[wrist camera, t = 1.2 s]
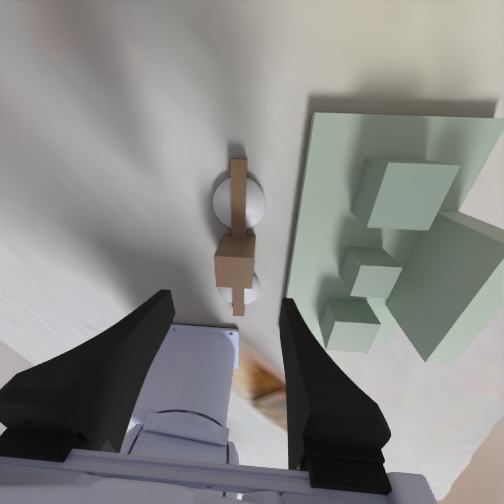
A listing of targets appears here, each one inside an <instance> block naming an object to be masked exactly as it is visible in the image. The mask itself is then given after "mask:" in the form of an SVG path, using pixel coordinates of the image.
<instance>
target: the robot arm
mask: <svg viewBox="0 0 504 504" xmlns="http://www.w3.org/2000/svg"><path fill="white" fill-rule="evenodd" d="M174 315H175V309H174V305H173V300H172V296H171V291H170V290H160V291H158V292H157V293H156V294H155V295H153V296H152V297H151V298H150V299H148V300H147V301H146V302H145V303H143V304H142V305H141V306H139V307H138V308H137V309H135V310H134V311H133V312H132V313H130V314H129V315H127V316H126V317H125V318H123V319H122V320H120V321H119V322H118V323H116V324H115V325H113V326H112V327H110V328H108V329H107V330H105V331H104V332H102V333H100V334H99V335H97V336H95V337H94V338H92V339H90V340H88V341H86V342H84V343H83V344H81V345H79V346H77V347H75V348H73V349H71V350H69V351H67V352H65V353H63V354H61V355H59V356H57V357H55V358H53V359H50V360H48V361H46V362H44V363H41V364H39V365H37V366H34V367H32V368H30V369H27V370H25V371H22V372H20V373H17V374H16V375H15V376H14V377H13V378H12V379H11V380H10V381H9V382H8V383H7V384H5V385H4V386H3V387H2V388H1V389H0V422H1V423H2V424H3V425H4V426H6V427H7V429H6V430H5V431H4V432H3V433H2V435H1V436H0V504H437V502H436V500H435V497H434V495H433V493H432V491H431V489H430V487H429V484H428V482H427V480H426V478H425V477H424V476H423V475H420V474H410V473H399V472H391V473H387V474H386V471H385V469H384V466H383V463H385V459H384V456H383V454H382V451H381V449H382V448H383V447H384V445H385V444H386V443H387V442H388V441H389V439H390V437H391V431H390V429H389V427H388V424H387V422H386V420H385V418H384V416H383V414H382V412H381V410H380V408H379V406H378V404H377V403H376V402H374V401H373V400H372V399H371V398H370V397H369V396H368V395H367V394H365V393H364V392H363V391H362V390H361V389H360V388H359V387H358V386H357V385H356V384H355V383H354V382H353V381H352V380H351V379H350V378H349V377H348V376H347V375H346V374H345V373H344V372H343V371H342V370H341V369H340V368H339V367H338V366H337V364H336V363H335V362H334V361H333V360H332V359H331V358H330V356H329V355H328V354H327V353H326V351H325V350H324V349H323V348H322V346H321V345H320V344H319V342H318V341H317V339H316V338H315V336H314V335H313V334H312V332H311V330H310V329H309V327H308V326H307V324H306V322H305V321H304V319H303V317H302V315H301V313H300V312H299V310H298V308H297V306H296V303H295V301H294V299H293V298H283V299H282V306H281V313H280V320H279V321H280V340H281V348H282V355H283V363H284V370H285V379H286V400H287V427H288V468H289V470H286V469H276V468H266V467H255V466H245V465H239V458H238V453H237V451H236V449H235V446H234V443H233V442H230V441H228V435H229V429H228V428H225V426H226V419H227V412H228V404H229V397H230V390H231V383H232V376H233V369H234V370H237V369H239V330H237V329H230V328H216V327H203V326H189V325H175V324H172V321H173V318H174ZM131 418H132V421H133V422H134V423H135V424H136V425H135V426H134V427H133V428H132V429H130V430H129V431H128V432H127V433H126V431H127V428H128V425H129V422H130V419H131ZM238 493H242V494H244V495H243V496H242V500H238V499H237V494H238Z"/></svg>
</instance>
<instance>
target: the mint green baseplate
mask: <svg viewBox="0 0 504 504" xmlns="http://www.w3.org/2000/svg"><path fill="white" fill-rule="evenodd" d="M503 130H504V118H474V117H443V116H412V115H380V114H349V113H318V112H315V113H313V114H312V118H311V125H310V132H309V139H308V146H307V152H306V159H305V166H304V173H303V179H302V186H301V193H300V200H299V207H298V213H297V220H296V227H295V234H294V240H293V247H292V254H291V261H290V268H289V274H288V281H287V288H286V295H285V298H293V299H294V301H295V303H296V306H297V308H298V310H299V312H300V313H301V315H302V317H303V319H304V321H305V322H306V324H307V326H308V327H309V329H310V330H311V332H312V334H313V335H314V336H315V338H316V339H317V340H322V341H324V345H325V348H326V350H336V351H349V352H362V353H367V352H368V350H369V348H370V346H371V344H377V345H385V344H386V342H387V340H388V338H389V336H390V335H391V333H392V331H393V329H394V327H395V326H396V324H397V323H398V324H399V326H400V327H401V329H402V330H403V331H404V333H405V334H406V336H407V337H408V339H409V340H410V342H411V343H412V344H413V346H414V347H415V349H416V350H417V352H418V353H419V354H420V356H421V357H422V359H423V360H424V362H425V363H438V364H451V365H452V364H453V363H454V362H455V361H456V360H457V359H458V357H459V356H460V355H461V354H462V353H463V352H464V351H465V349H466V348H467V347H468V346H469V345H470V344H471V343H472V341H473V340H474V339H475V338H476V337H477V336H478V335H479V333H480V332H481V331H482V330H483V329H484V328H485V326H486V325H487V324H488V323H489V322H490V321H491V320H492V318H493V317H494V316H495V315H496V314H497V313H498V312H499V310H500V309H501V308H502V307H503V306H504V230H503V229H501V228H498V227H496V226H493V225H491V224H488V223H486V222H483V221H481V220H478V219H476V218H473V217H471V216H468V215H466V214H463V213H461V212H458V211H459V209H460V208H461V206H462V204H463V202H464V200H465V199H466V197H467V195H468V193H469V191H470V189H471V188H472V186H473V184H474V182H475V180H476V179H477V177H478V175H479V173H480V171H481V170H482V168H483V166H484V164H485V162H486V160H487V159H488V157H489V155H490V153H491V151H492V150H493V148H494V146H495V144H496V142H497V140H498V139H499V137H500V135H501V133H502V131H503Z"/></svg>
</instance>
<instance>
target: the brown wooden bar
mask: <svg viewBox="0 0 504 504" xmlns="http://www.w3.org/2000/svg"><path fill="white" fill-rule="evenodd" d="M213 209H214V212H215V214H216V216H217V217H218V219H219V220H220V221H221V222H222V223H223V224H224V225H226V226H228V227H230V228H231V231H232V235H229V234H223V237H222V239H221V241H220V244H219V246H218V248H217V251H216V253H215V255H214V261H215V275H216V287H218V290H219V293H220V295H221V296H222V297H223V298H224V299H225V300H226V301H228V302H230V303H233V316H244V311H245V304H249V303H251V302H253V301H254V300H255V299H256V298H257V297H258V295H259V293H260V283H259V280H258V278H257V277H256V276H255V275H254V264H255V242H256V236H248V235H246V229H248V228H251V227H253V226H254V225H256V224H257V223H258V222H259V221H260V220H261V218H262V217H263V214H264V211H265V196H264V193H263V191H262V189H261V188H260V186H259V185H258V184H257V183H256V182H254V181H253V180H251V179H249V178H247V159H240V158H232V159H230V178H228V179H226V180H225V181H223V182H222V183H221V184H220V185H219V186H218V187H217V189H216V191H215V193H214V196H213Z"/></svg>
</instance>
